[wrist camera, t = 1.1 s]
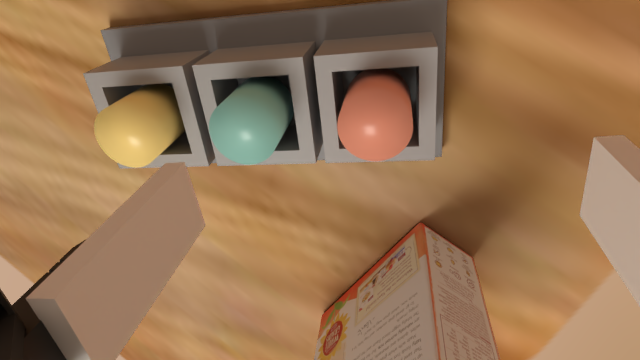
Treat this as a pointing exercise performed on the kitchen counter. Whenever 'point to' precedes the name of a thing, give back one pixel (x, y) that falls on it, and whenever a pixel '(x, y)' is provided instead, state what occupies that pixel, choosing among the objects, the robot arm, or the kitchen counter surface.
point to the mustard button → (140, 125)
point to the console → (284, 72)
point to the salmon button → (376, 115)
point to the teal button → (252, 120)
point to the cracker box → (412, 307)
